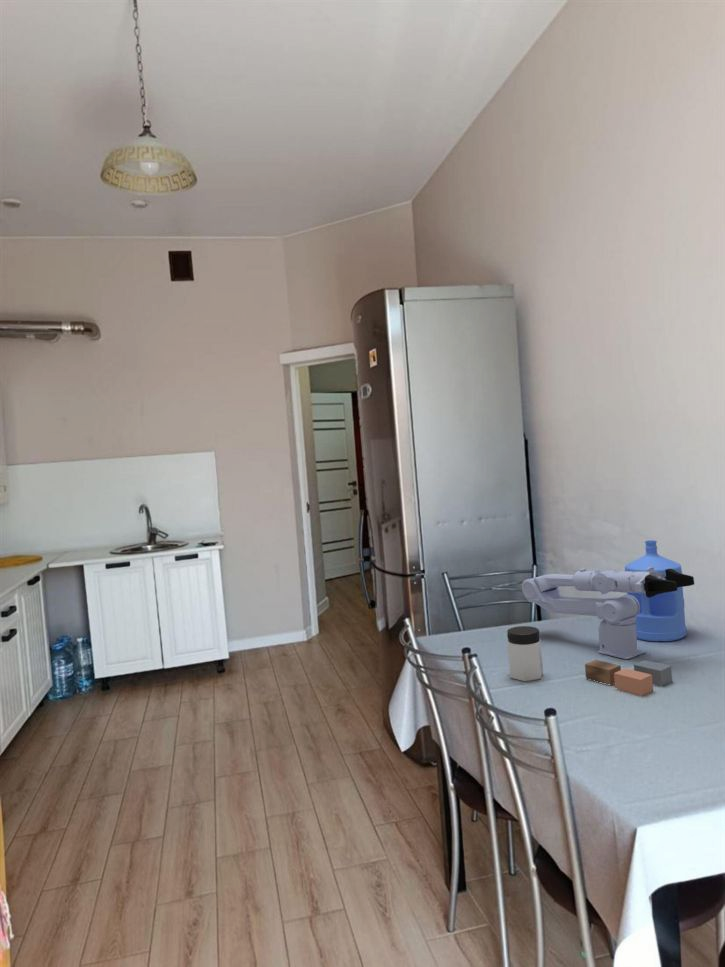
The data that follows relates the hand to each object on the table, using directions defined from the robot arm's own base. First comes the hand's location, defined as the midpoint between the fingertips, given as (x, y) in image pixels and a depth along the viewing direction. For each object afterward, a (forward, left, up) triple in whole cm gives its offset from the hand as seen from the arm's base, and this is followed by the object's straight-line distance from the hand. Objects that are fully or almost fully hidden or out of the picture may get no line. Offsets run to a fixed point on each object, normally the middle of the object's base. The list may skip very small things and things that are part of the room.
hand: (684, 583), depth 165 cm
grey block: (-2, -13, -22) cm, 26 cm away
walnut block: (-11, -20, -22) cm, 32 cm away
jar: (-27, -30, -22) cm, 46 cm away
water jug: (-22, +21, -22) cm, 38 cm away
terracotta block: (-2, -21, -22) cm, 30 cm away
